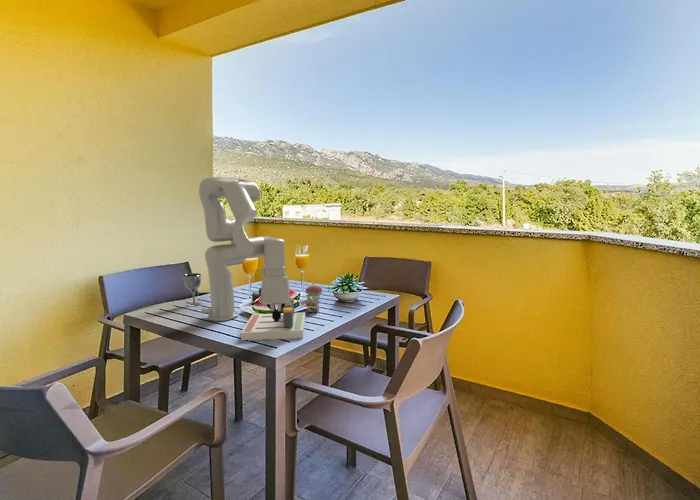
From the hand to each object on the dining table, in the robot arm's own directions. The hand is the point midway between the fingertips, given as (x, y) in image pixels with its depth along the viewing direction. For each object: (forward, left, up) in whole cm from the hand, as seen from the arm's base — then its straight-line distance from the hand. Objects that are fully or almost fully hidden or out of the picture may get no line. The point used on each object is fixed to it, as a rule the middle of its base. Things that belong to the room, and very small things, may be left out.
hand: (276, 320), depth 138 cm
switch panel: (-1, +7, -6) cm, 9 cm away
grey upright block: (+4, 0, -2) cm, 5 cm away
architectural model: (+12, +28, -6) cm, 31 cm away
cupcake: (+13, +50, -6) cm, 52 cm away
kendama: (-13, +52, -6) cm, 54 cm away
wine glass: (-46, +49, -6) cm, 68 cm away
